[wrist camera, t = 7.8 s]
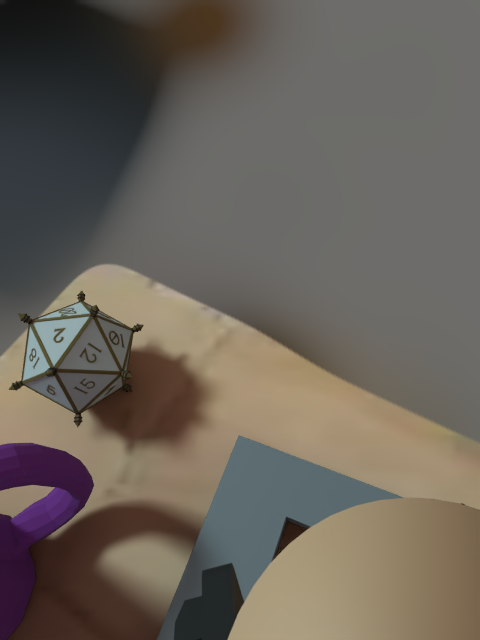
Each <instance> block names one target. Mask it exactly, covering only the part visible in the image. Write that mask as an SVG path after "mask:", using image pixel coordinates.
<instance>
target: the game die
mask: <svg viewBox="0 0 480 640" xmlns="http://www.w3.org/2000/svg"><path fill="white" fill-rule="evenodd" d="M77 296H78V298H77V299H78V300H79V302H77V303H74V304H72V305H69V306H67V307H64V308H61V309H59V310H56V311H54V312H51V313H49V314H46V315H43V316H41V317H38V318H36V319H33V320H32V319H30V316H28V315H27V314H19V316H20V318H21V321H24V323H25V322H26V323H28V324H29V325H28V333H27V341H26V348H25V356H24V364H23V372H22V380H21V381H19V382H17V381H16V383H13V384H12V386H11V387H10V388H9V390H17V389H19V388H20V387H22V386H23V385H24V386H26V387H28V388H30V389H32V390H33V391H35V392H37V393H39V394H41V395H43V396H44V397H46V398H48V399H50V400H52V401H53V402H55V403H57V404H59V405H61V406H63V407H64V408H66V409H68V410H70V411H72V412H74V413H75V414H76V415H75V417H74V419H75V421H74V422H75V424H76V425H77V427H78V426H79V425H80V423H81V422H83V421H82V417H81V413H82V412H84V411H86V410H87V409H89V408H90V407H92V406H93V405H95V404H97V403H98V402H100V401H101V400H103V399H105V398H106V397H108V396H109V395H111V394H113V393H114V392H116V391H117V390H119V389H120V388H123V389H124V390H125V391H126V392H128V391H132V389H131V386H130V385H128V384H125V381H126V379H129V378H131V377H132V375H131V373H130V371H127V369H128V363H129V357H130V351H131V345H132V339H133V333H134V332H138V331H141V329H142V327H143V326H144V325H139V324H137V325H136V326H135V325H134V327H133V328H130V327H128V326H126V325H125V324H123V323H121V322H119V321H117V320H116V319H114V318H112V317H110V316H108V315H107V314H105V313H103V312H101V311H100V310H99V309H98V307H97V305H95V306H91V305H89V304H87V303H85V302H84V300H85V294H84V293H83V292H82V291H81V292H80V293H79V294H78V295H77Z"/></svg>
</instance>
